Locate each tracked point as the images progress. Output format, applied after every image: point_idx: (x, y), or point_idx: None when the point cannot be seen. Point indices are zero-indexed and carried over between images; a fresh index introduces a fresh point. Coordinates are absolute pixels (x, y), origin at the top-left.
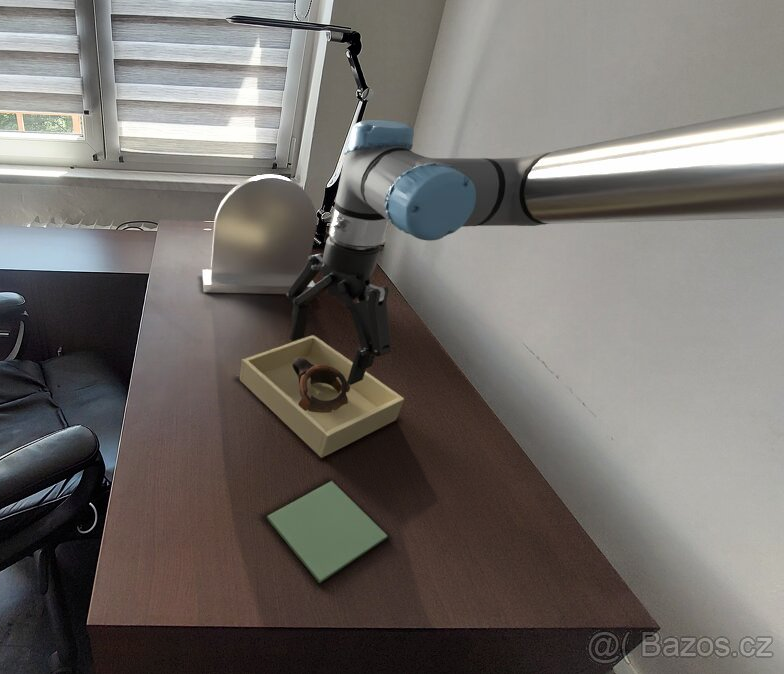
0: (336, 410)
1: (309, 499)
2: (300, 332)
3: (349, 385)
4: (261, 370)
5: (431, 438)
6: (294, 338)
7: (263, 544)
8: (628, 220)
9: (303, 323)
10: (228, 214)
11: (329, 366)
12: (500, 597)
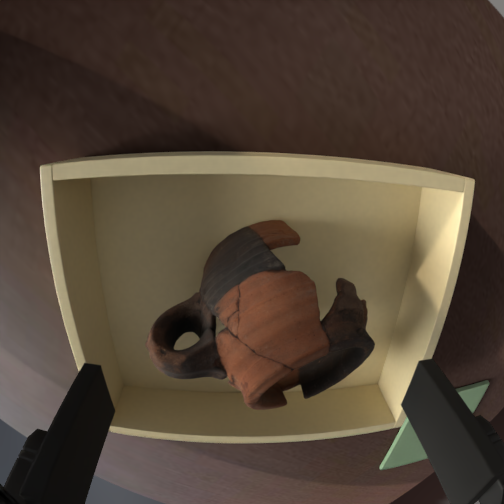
0: (328, 285)
1: (407, 434)
2: (97, 409)
3: (348, 285)
4: (111, 353)
5: (489, 158)
6: (111, 413)
7: (391, 473)
8: None
9: (80, 439)
10: None
11: (287, 365)
12: None
